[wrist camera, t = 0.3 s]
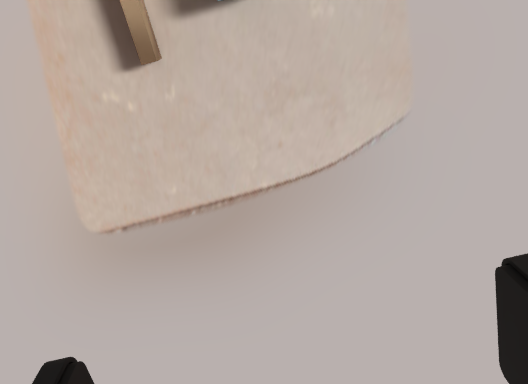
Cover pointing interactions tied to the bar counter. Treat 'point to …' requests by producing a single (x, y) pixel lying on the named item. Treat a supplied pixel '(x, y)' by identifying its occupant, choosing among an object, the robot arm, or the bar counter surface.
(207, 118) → the bar counter surface
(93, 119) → the bar counter surface
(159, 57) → the rail
